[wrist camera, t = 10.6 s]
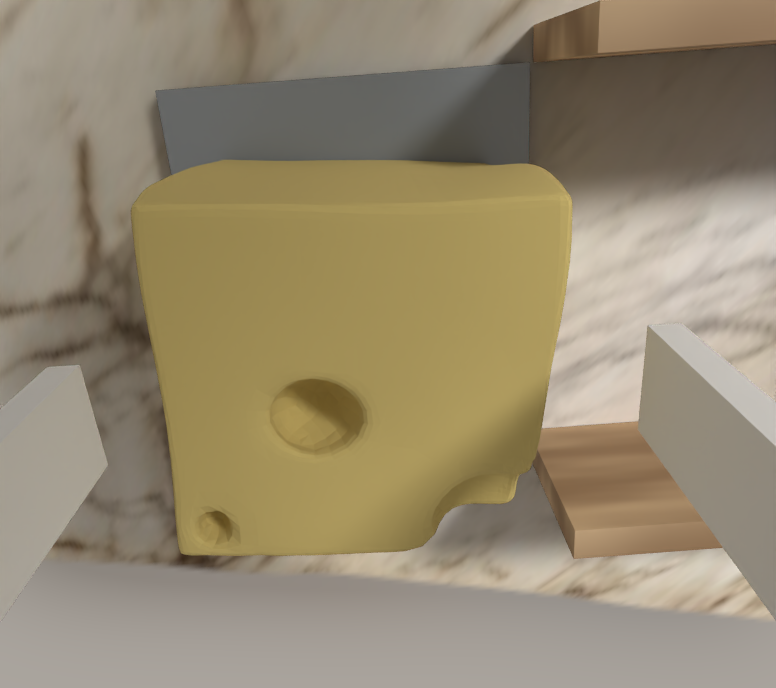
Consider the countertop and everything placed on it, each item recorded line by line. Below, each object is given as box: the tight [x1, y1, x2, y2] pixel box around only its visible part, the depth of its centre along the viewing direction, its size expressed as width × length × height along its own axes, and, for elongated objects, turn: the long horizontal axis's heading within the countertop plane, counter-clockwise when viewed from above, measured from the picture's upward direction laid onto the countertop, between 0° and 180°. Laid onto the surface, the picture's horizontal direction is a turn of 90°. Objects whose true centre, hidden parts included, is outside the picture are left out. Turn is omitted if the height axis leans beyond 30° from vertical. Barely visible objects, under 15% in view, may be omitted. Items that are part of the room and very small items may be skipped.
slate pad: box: [155, 62, 530, 175], centre depth 25 cm, size 15×13×1 cm
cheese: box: [131, 160, 572, 556], centre depth 20 cm, size 10×11×10 cm
